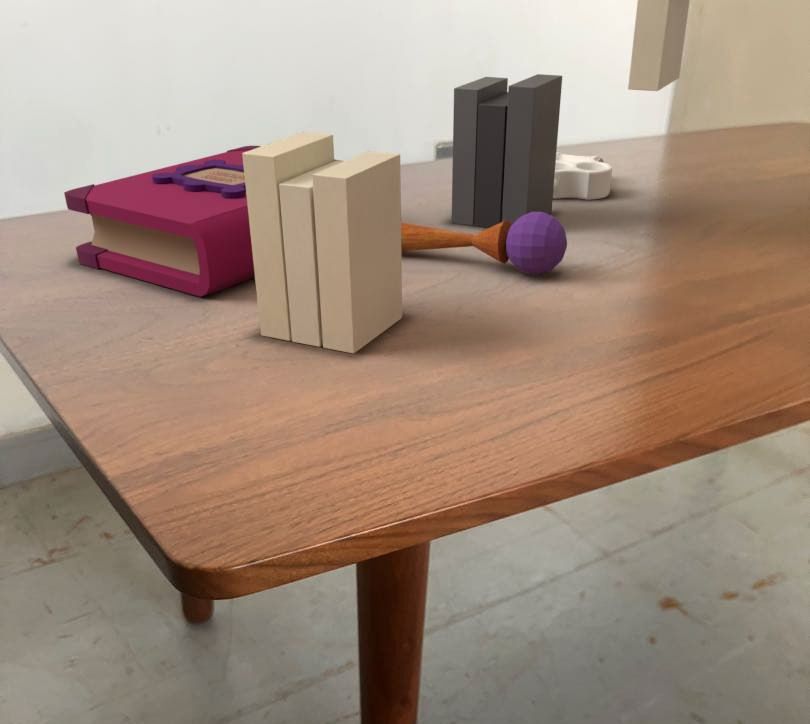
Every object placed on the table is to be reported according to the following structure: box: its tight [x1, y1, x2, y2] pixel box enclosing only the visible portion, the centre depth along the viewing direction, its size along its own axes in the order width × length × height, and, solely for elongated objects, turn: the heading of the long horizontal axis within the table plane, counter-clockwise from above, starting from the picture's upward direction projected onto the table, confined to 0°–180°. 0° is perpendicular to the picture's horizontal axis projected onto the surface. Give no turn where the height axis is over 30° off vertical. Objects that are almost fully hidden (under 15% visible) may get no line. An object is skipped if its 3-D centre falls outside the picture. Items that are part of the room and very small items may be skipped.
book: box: [63, 145, 342, 298], centre depth 99 cm, size 21×28×8 cm
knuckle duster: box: [553, 151, 613, 201], centre depth 121 cm, size 3×18×15 cm
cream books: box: [242, 131, 403, 354], centre depth 77 cm, size 9×9×15 cm
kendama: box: [401, 212, 568, 276], centre depth 94 cm, size 6×6×20 cm
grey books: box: [451, 73, 563, 229], centre depth 105 cm, size 9×9×15 cm
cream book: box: [627, 0, 691, 92], centre depth 90 cm, size 3×9×14 cm, turn 153°
